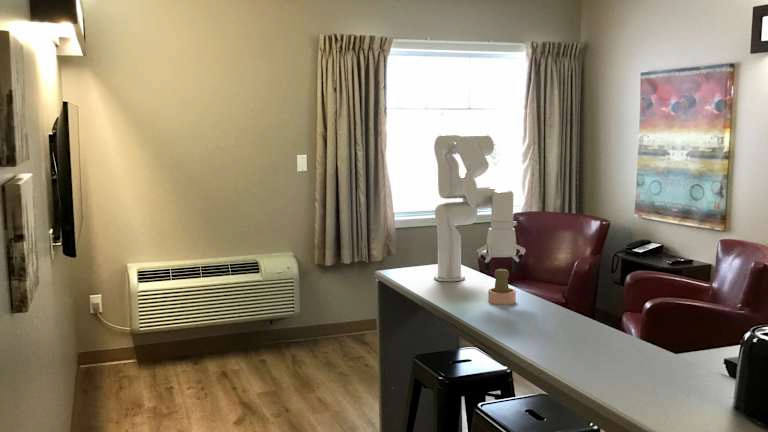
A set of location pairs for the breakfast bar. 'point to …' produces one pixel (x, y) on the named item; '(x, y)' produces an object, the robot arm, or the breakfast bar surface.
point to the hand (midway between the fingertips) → (500, 272)
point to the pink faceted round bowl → (502, 297)
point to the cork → (501, 281)
